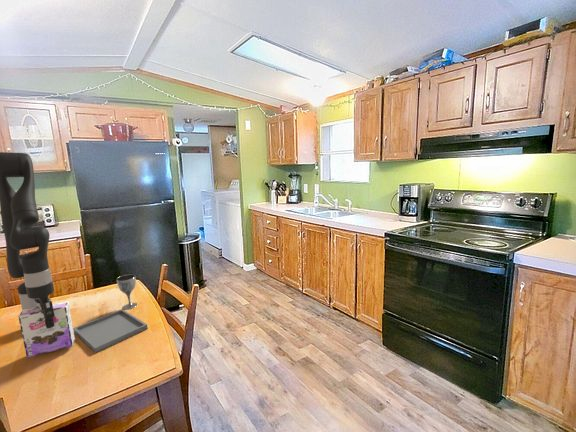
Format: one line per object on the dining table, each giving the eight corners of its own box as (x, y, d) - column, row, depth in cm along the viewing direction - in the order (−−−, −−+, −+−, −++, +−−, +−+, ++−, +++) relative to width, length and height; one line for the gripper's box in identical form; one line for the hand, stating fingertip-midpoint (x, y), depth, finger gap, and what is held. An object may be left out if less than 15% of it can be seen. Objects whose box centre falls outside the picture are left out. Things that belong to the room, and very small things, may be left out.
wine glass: (131, 310, 141) (127, 281, 138) (117, 309, 143) (112, 280, 140) (142, 302, 149) (138, 274, 146) (128, 301, 150) (124, 273, 147)
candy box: (26, 358, 106) (16, 316, 103) (31, 349, 111) (22, 309, 108) (73, 346, 112) (65, 306, 109) (75, 338, 117) (68, 300, 114)
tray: (74, 332, 124) (73, 328, 124) (122, 312, 139) (122, 309, 139) (95, 353, 109) (94, 348, 109) (147, 328, 125) (147, 324, 124)
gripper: (57, 283, 105) (65, 325, 108) (46, 274, 114) (54, 313, 117) (30, 291, 99) (39, 335, 102) (20, 281, 108) (29, 322, 111)
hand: (47, 323), depth 109 cm, fingers closed on candy box, 7 cm apart
